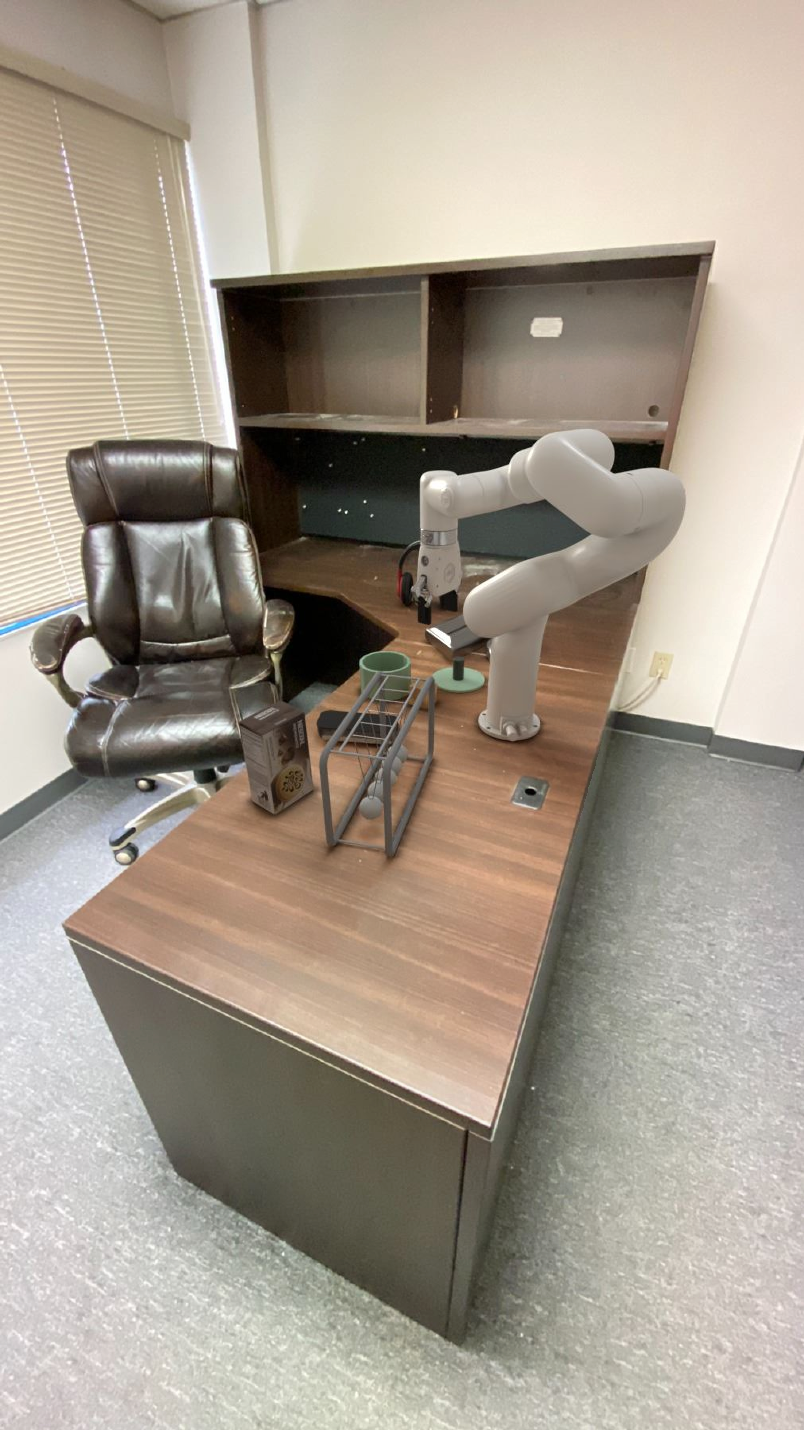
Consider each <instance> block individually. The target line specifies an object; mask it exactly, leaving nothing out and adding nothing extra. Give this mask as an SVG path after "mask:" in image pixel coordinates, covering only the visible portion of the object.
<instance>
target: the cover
mask: <svg viewBox="0 0 804 1430" xmlns="http://www.w3.org/2000/svg"><path fill="white" fill-rule="evenodd" d="M431 676H432V677H434V680H435V683H437V689H438V690H441V691H444V692H448V693H453V694H454V693H455V694H464V693H471V692H475V691H477V690H480V689H481V688H482V687H484V685H485V679H486V678H485V676H484V675H483V674H482V672H480V671H478V670H476V669H473V668H469V667H465V657H464V656H463V657H454V658H453V661H452V666H449V667H444V668H441V669H438V670H437V671H435V672H434V673H433V674H432V675H431Z"/></svg>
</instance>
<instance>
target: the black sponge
mask: <svg viewBox="0 0 804 1430" xmlns="http://www.w3.org/2000/svg"><path fill="white" fill-rule="evenodd" d="M348 713H349V711H345V710H344V711H342V710H334V709H328V710H327V709H326V710H323V711H321V712H320V714H319V717H318V718H317V720H316V732H317V734H318V736H319V738H320V739H322V740H325V741H329V740H330V739H331V737H332V736H333V734H334V733H335V731H336V730H337V729H338V727H339V726H340V724H341V723H342V721H343V720H344V718H345V717H346V715H347V714H348ZM362 714H363V712H359V711H358V712H357V713H356V715H355V716H354V718H353V719H352V721H351V722H350V724H349V725H348V727H347V728H346V730H345V731H344V733H343V734H342V736H341V737H340V739H339V740H338V742H345V740H346V738H347V737H348V735H349V734H350V732H351V731H352V729H353V728H354V726H355V725H356V723H357V721H358V720H359V718H360V717H361V715H362ZM370 716H371V720H372V724H373V728H374V732H375V736H376V738H381V736H380V725H375V724H380V717H379V713H370ZM370 716H369V712H366V714H365V715H364V717H363V718H362V720H361V722H364V723H362V726H363V730H364V734H365V736H366V741H367V744H376V740H377V744H378V745H380V744H381V739H376V740H375V736H374V732H373V728H372V724H368V723H371V720H370ZM397 716H398V715H394V714H389V717H388V714H386V725H388V726H386V737H387V735H388V733H389V731H390V730H391V726H393V724H394V722H395V720H396V719H397ZM389 718H390V722H391V726H390V722H389ZM399 725H400V723H399V721H398V722H397V726H396V731H395V728H394V729H393V735H394V731H395V736H394V739H395V740H396V738H397V735H398V730H399ZM362 726H361V723H359V725H358V726H357V728H356V729H355V731H354V732H353V734H352V735H353V736H354V735H359V736H354V739H355V743H361V744H366V741H365V738H364V737H361V736H364V734H363V730H362ZM399 731H400V730H399ZM393 735H392V733H391V735H390V740H389V739H388V740H389V745H392V741H393ZM353 736H351V737H350V739H349V740H348V742H349V743H354V739H353ZM369 737H374V738H369ZM348 742H347V743H348ZM393 743H394V741H393ZM377 744H376V745H377ZM387 745H388V741H387Z"/></svg>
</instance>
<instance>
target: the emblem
mask: <svg viewBox="0 0 804 1430" xmlns="http://www.w3.org/2000/svg"><path fill="white" fill-rule="evenodd" d="M424 638H425V640H426V641H427V642H428V643H429V644H431V646H433V647H434V648H435V649H436V650H437V651H438V652H439V653H441V654H442V656H443V657H445V658H446V659H447V660H449V662H453V658H454V657H463V658H464V657H465V656H467V655H469V654H471V653H473V652H476V651H477V650H480V649H481V648H484V647H485V655H486V658H487V660H488V662H490V654H491V644H492V639H493V638H484V637H480V636H478V635H476V634H475V633H473V632H472V631H471V630H470V629H469V628H468V626H467V625H466V623H465V620H464V616H463V613H460V614H459V615H456V616H454V617H450V618H448V619H446V620H443V621H441V622H437V623H436V624H434V625H433V624H432V625H431V626H429V627H426V628H425V630H424Z"/></svg>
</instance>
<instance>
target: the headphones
mask: <svg viewBox="0 0 804 1430" xmlns="http://www.w3.org/2000/svg"><path fill="white" fill-rule="evenodd" d="M420 546H421V545H420V539H418V540H416V541H413V542H412V543H410V544H409V545H407V547H406V548H405V549H404V550H403V551H402V552H401V554H400V557H399V559H398V562H397V568H398V569H397V583H396V594H397V597H398V598H399V600H400V602H401V603H402V605H405V606H408V605H410V604H411V603H412V600H413V595H412V593H411V589H412V587H413V586H414V578H413V574H412V573H411V572H409V571H406V572H404V573H403V568H404V567H403V566H404V564H405V561H406V558H408V555H409V554H411V552H413V551H415V550H416V549H420ZM438 600H439V605H440V606H441V607H443V608H444V594H443V595H441V596H438Z"/></svg>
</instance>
